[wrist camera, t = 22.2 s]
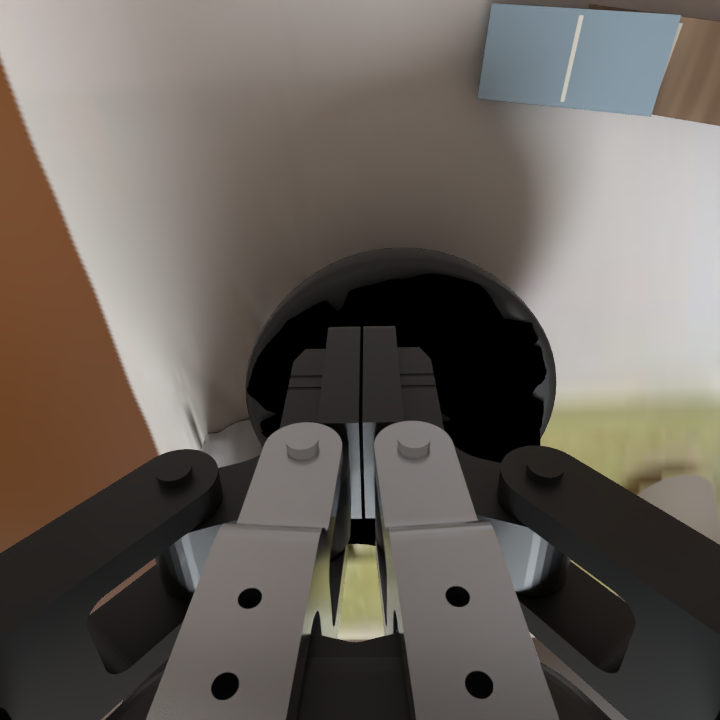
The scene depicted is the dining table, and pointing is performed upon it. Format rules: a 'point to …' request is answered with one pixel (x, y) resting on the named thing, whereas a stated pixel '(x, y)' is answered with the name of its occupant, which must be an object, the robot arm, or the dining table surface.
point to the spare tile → (576, 57)
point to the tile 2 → (690, 72)
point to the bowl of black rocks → (429, 332)
